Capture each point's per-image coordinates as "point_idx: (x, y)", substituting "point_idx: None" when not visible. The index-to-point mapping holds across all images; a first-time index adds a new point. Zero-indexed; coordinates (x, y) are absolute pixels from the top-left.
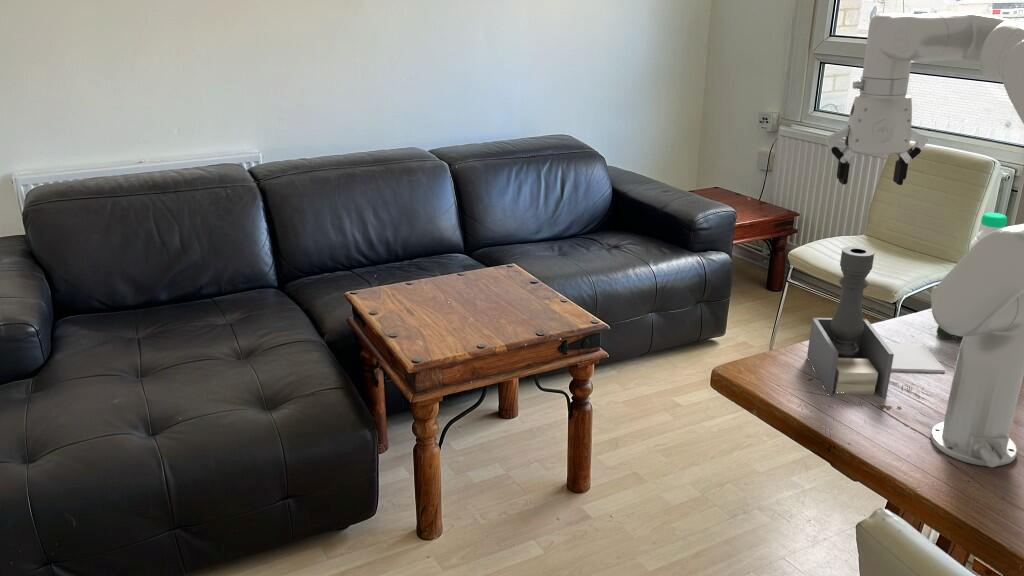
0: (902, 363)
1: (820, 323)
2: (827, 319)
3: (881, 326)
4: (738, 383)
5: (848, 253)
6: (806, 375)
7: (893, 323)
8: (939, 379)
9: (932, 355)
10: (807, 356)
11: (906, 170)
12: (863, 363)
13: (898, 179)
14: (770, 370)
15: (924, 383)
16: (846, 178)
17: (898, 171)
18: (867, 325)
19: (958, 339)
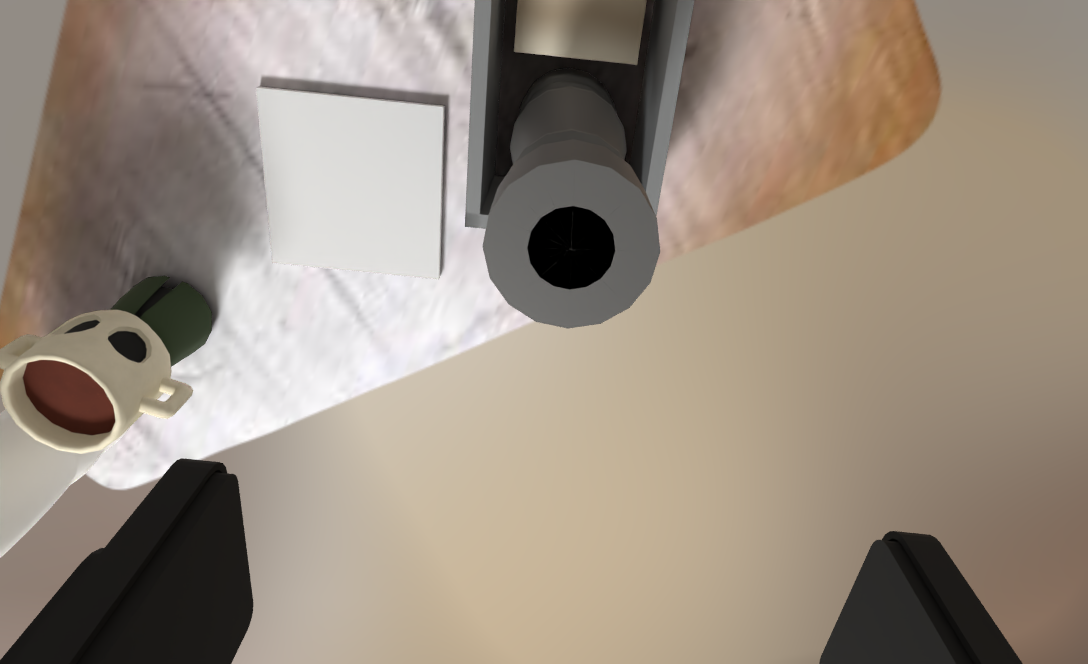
0: (371, 136)
1: None
2: None
3: (350, 384)
4: (923, 32)
5: (646, 211)
6: (686, 82)
7: (311, 399)
8: (289, 40)
9: (266, 186)
10: None
11: (22, 646)
12: (543, 13)
13: (206, 528)
14: (781, 121)
15: (343, 14)
16: (941, 587)
17: (158, 654)
18: (482, 171)
19: (162, 278)
